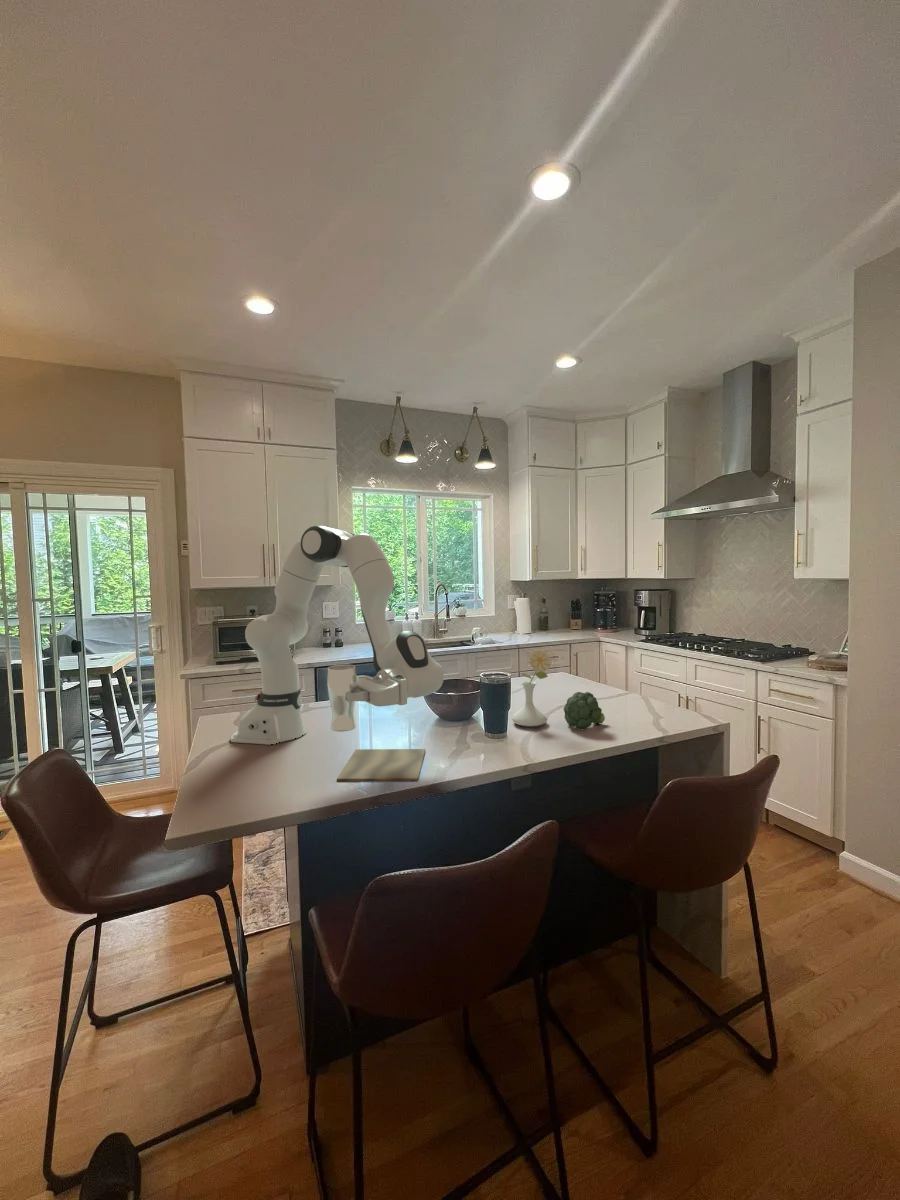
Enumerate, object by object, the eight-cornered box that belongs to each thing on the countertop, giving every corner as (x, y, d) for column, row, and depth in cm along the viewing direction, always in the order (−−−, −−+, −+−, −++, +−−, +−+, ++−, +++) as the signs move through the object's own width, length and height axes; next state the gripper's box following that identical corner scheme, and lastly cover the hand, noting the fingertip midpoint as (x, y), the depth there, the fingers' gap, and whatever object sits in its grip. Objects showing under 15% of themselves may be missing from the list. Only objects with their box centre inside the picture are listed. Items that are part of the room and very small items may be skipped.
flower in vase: (513, 729, 158) (512, 652, 156) (510, 719, 169) (509, 646, 168) (554, 729, 157) (554, 651, 156) (549, 718, 169) (548, 645, 167)
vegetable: (622, 723, 155) (591, 709, 148) (592, 745, 160) (561, 733, 153) (606, 693, 164) (577, 679, 157) (579, 715, 170) (549, 702, 163)
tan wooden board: (336, 781, 122) (336, 778, 122) (355, 751, 142) (355, 749, 141) (417, 780, 121) (417, 778, 121) (425, 751, 141) (425, 749, 141)
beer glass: (323, 730, 119) (321, 669, 118) (339, 722, 125) (336, 663, 124) (348, 733, 117) (346, 670, 116) (363, 724, 123) (361, 664, 122)
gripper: (369, 667, 136) (321, 675, 128) (409, 680, 120) (358, 689, 112) (370, 690, 137) (322, 699, 128) (410, 705, 120) (359, 717, 112)
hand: (339, 694), depth 120 cm, fingers closed on beer glass, 6 cm apart
